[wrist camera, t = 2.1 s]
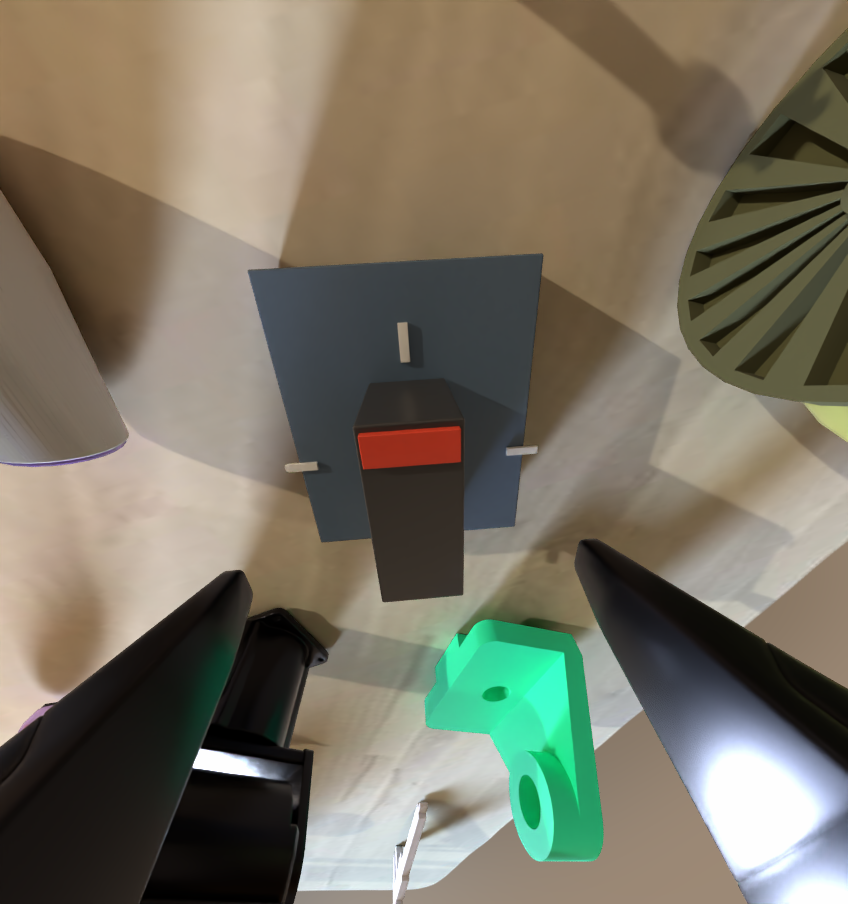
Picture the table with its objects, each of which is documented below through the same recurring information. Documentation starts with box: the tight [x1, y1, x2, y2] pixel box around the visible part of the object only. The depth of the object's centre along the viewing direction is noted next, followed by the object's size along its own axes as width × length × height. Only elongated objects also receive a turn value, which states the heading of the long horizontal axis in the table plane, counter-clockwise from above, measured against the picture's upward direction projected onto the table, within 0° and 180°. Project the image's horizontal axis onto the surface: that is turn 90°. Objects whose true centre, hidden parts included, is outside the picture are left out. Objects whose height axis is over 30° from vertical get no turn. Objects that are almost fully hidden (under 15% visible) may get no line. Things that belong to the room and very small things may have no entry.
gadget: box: [353, 378, 465, 602], centre depth 12 cm, size 7×3×5 cm, turn 3°
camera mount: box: [425, 619, 603, 861], centre depth 21 cm, size 12×8×10 cm, turn 160°
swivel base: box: [248, 253, 543, 542], centre depth 14 cm, size 13×11×3 cm
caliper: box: [393, 802, 428, 904], centre depth 41 cm, size 20×1×6 cm, turn 168°
